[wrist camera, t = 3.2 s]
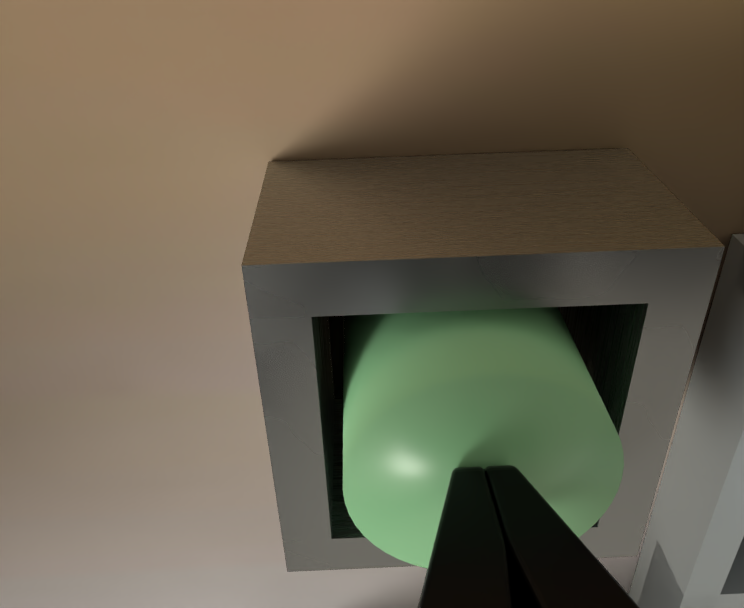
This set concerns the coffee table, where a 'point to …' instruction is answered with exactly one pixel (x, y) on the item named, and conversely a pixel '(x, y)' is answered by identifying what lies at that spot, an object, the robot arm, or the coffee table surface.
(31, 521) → the coffee table surface
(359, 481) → the button
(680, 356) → the switch box
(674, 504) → the pallet
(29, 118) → the coffee table surface
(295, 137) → the coffee table surface
